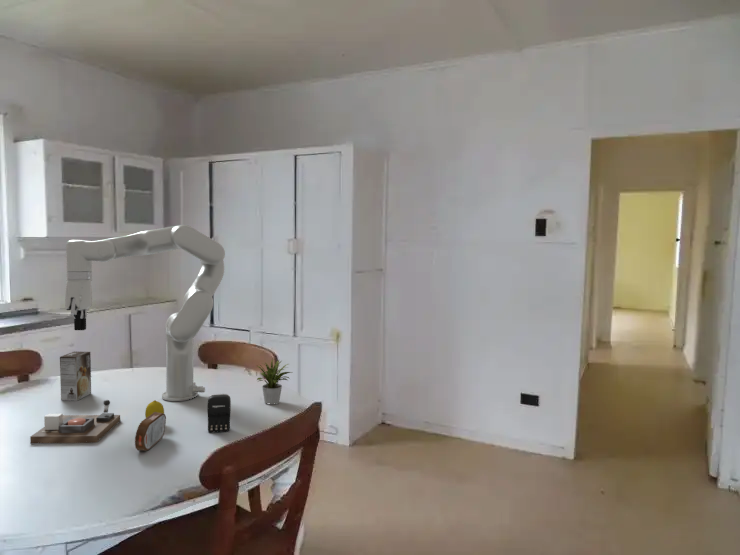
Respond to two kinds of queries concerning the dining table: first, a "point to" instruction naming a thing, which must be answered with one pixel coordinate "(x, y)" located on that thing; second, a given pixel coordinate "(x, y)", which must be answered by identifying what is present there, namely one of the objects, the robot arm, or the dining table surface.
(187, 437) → the dining table surface
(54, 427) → the block
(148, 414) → the lemon
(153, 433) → the tin
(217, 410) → the battery charger
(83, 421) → the push button
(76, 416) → the control board
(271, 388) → the house plant
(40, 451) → the dining table surface
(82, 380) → the coffee box
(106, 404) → the toggle lever
